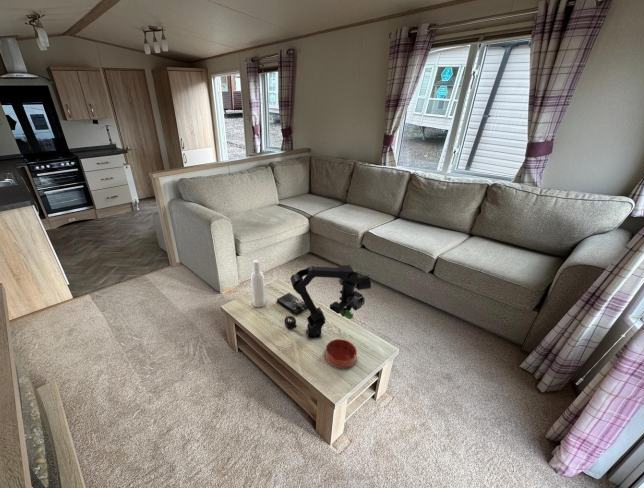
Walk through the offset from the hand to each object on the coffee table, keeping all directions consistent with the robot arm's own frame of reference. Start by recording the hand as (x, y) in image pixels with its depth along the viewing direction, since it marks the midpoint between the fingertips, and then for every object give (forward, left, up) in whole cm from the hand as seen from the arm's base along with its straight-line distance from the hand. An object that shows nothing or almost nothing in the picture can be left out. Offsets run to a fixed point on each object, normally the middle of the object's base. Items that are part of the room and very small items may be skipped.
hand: (345, 314), depth 155 cm
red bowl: (-6, -18, -11) cm, 22 cm away
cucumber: (0, 0, -1) cm, 1 cm away
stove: (-24, +25, -11) cm, 37 cm away
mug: (-26, +4, -11) cm, 29 cm away
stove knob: (-21, +21, -9) cm, 31 cm away
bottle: (-44, +29, -11) cm, 54 cm away
